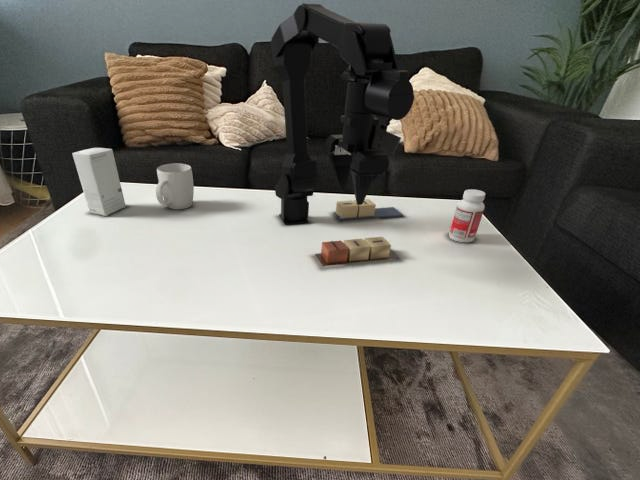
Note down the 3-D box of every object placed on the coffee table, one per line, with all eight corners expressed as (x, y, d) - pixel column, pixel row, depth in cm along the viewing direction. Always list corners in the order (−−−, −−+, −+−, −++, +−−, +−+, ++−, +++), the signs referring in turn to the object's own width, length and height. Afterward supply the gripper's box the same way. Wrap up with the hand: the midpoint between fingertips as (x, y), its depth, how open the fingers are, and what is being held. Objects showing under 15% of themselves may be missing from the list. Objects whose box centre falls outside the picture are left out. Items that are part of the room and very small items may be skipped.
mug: (176, 198, 119) (170, 161, 112) (202, 203, 116) (197, 165, 109) (148, 212, 110) (140, 173, 103) (175, 218, 107) (169, 178, 101)
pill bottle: (470, 233, 103) (484, 188, 96) (477, 243, 98) (493, 197, 91) (445, 232, 103) (458, 187, 96) (451, 242, 99) (465, 196, 92)
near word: (322, 268, 87) (324, 252, 85) (314, 256, 92) (315, 240, 89) (398, 260, 91) (402, 245, 88) (387, 249, 95) (390, 234, 93)
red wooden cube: (327, 263, 88) (328, 250, 86) (320, 254, 91) (322, 241, 89) (346, 261, 88) (348, 248, 86) (339, 252, 92) (341, 240, 90)
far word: (340, 221, 107) (342, 208, 105) (333, 213, 112) (334, 200, 109) (402, 216, 111) (405, 203, 109) (392, 209, 115) (395, 195, 113)
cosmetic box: (105, 216, 107) (89, 155, 97) (88, 213, 109) (70, 152, 99) (127, 206, 113) (113, 147, 103) (110, 203, 114) (94, 145, 105)
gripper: (425, 118, 70) (406, 209, 80) (377, 102, 84) (367, 181, 94) (366, 121, 68) (354, 214, 78) (327, 103, 81) (322, 184, 91)
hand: (350, 197), depth 85 cm, fingers open, 9 cm apart
